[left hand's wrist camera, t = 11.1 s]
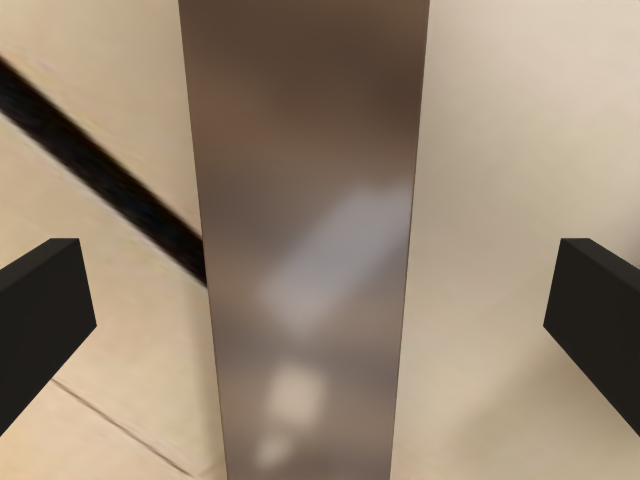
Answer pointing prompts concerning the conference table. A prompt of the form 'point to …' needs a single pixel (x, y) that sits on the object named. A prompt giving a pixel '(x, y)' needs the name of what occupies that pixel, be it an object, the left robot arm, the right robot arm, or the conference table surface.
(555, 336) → the left robot arm
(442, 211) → the conference table surface
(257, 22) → the wide beam
